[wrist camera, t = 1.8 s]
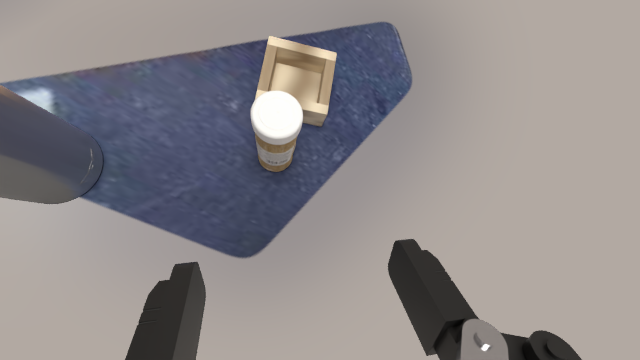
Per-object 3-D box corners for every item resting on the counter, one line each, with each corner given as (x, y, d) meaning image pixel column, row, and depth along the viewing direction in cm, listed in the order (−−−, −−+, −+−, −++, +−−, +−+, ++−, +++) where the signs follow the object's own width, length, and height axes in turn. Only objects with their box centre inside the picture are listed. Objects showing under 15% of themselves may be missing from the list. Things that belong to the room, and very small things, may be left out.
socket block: (256, 112, 37) (255, 98, 33) (269, 55, 39) (269, 35, 35) (321, 126, 39) (327, 114, 35) (330, 70, 41) (336, 53, 37)
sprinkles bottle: (295, 144, 37) (309, 96, 24) (287, 176, 36) (297, 144, 23) (262, 136, 37) (257, 82, 24) (253, 168, 36) (243, 130, 23)
